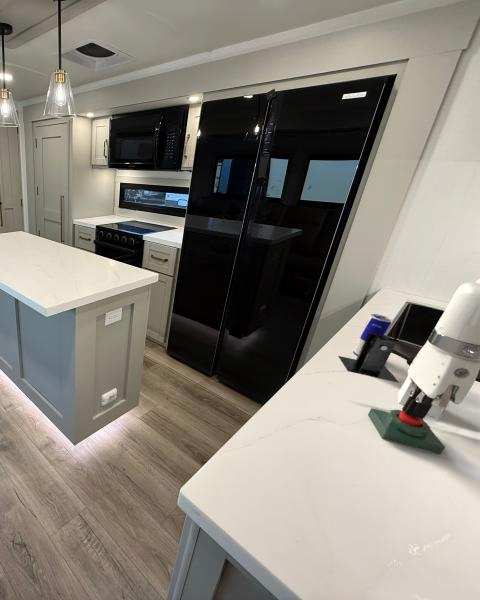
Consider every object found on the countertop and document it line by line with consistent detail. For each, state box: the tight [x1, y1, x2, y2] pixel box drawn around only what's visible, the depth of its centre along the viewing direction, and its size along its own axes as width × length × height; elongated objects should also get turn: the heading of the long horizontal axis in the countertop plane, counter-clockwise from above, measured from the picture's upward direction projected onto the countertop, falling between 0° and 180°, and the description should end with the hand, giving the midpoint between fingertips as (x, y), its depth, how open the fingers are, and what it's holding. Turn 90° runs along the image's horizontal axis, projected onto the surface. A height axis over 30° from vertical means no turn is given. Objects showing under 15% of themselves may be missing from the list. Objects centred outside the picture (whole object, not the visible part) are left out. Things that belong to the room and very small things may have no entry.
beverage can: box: [352, 313, 393, 357], centre depth 97 cm, size 5×5×15 cm
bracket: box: [337, 333, 400, 384], centre depth 91 cm, size 12×9×12 cm
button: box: [398, 409, 424, 428], centre depth 69 cm, size 4×4×2 cm
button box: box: [367, 407, 446, 455], centre depth 70 cm, size 10×8×4 cm
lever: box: [370, 336, 416, 367], centre depth 89 cm, size 13×3×3 cm, turn 67°
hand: (412, 414), depth 69 cm, fingers closed
